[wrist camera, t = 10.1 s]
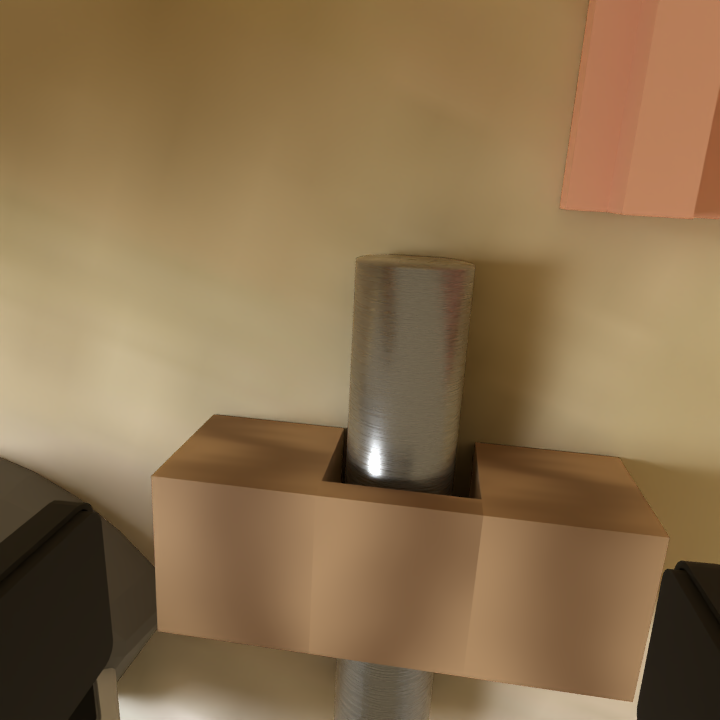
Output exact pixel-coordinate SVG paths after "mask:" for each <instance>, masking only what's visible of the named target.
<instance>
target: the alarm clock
mask: <svg viewBox="0 0 720 720" xmlns="http://www.w3.org/2000/svg"><path fill="white" fill-rule="evenodd" d="M54 500H63V501H73V502H83V501H82V500H80V499H79V498H78V497H76V496H74V495H72V494H71V493H69V492H67V491H66V490H64V489H62V488H61V487H59V486H57V485H55V484H54V483H52V482H50V481H49V480H47V479H45V478H43V477H42V476H40V475H38V474H37V473H35V472H33V471H31V470H29V469H26V468H24V467H22V466H19V465H17V464H15V463H12V462H10V461H8V460H5V459H3V458H1V457H0V543H1V542H2V541H3V540H4V539H6V538H7V537H8V536H9V535H11V534H12V533H13V532H14V531H15V530H17V529H18V528H19V527H20V526H22V525H23V524H24V523H25V522H27V521H28V520H29V519H30V518H31V517H33V516H34V515H35V514H36V513H38V512H39V511H40V510H41V509H43V508H44V507H45V506H46V505H48V504H49V503H50V502H52V501H54ZM83 503H84V502H83ZM93 512H95V511H94V510H93ZM100 517H101V516H100ZM101 521H102V531H103V541H104V552H105V562H106V572H107V582H108V593H109V603H110V613H111V623H112V634H113V648H112V653H111V656H110V659H109V661H108V663H107V665H106V666H105V668H104V669H103V671H102V672H101V673H100V675H99V676H98V678H97V679H96V681H95V682H94V683H93V685H92V686H91V688H90V689H89V691H88V692H87V693H86V695H85V696H84V698H83V699H82V701H81V702H80V703H79V705H78V706H77V708H76V709H75V711H74V712H73V713H72V715H71V716H70V718H69V719H68V720H120V713H119V703H118V692H117V681H118V680H119V679H120V677H121V676H122V675H123V673H124V672H125V671H126V669H127V668H128V667H129V665H130V664H131V663H132V661H133V660H134V659H135V657H136V656H137V655H138V653H139V652H140V651H141V649H142V648H143V647H144V645H145V644H146V643H147V641H148V640H149V639H150V637H151V636H152V635H153V633H154V632H155V631H156V629H157V628H158V626H157V602H156V579H155V568H154V566H153V565H152V564H151V563H150V562H149V561H148V560H147V559H146V558H145V557H144V556H143V555H142V554H141V553H140V552H139V551H138V550H137V549H136V548H135V547H134V546H133V545H132V543H131V542H130V541H129V540H128V539H127V538H126V537H125V536H124V535H123V534H122V533H121V532H120V531H119V530H118V529H116V528H115V527H114V526H113V525H111V524H110V523H109V522H108V521H106V520H105V519H104V518H103V517H101Z"/></svg>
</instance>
